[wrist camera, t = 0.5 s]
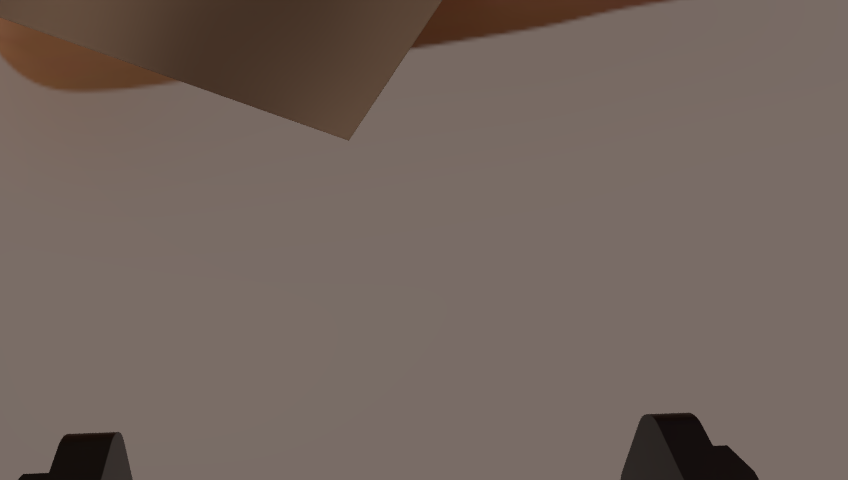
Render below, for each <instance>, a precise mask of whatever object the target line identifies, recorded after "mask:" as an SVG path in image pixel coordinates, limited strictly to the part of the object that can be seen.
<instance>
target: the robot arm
mask: <svg viewBox="0 0 848 480" xmlns="http://www.w3.org/2000/svg"><path fill="white" fill-rule="evenodd" d="M19 480H132V475H131V471H130V466H129V462H128V458H127V453H126V449H125V444H124V440H123V437H122V435H121V433H119V432H111V433H84V434H67V435H65V436H64V437H63V438H62V440H61V442H60V443H59V446H58V449H57V451H56V455H55V457H54V460H53V463H52V466H51V469H50V472H49V473H39V474H23V475H22V476H21V477H20V478H19ZM621 480H759V479H758V477H757V475H756V474H755V472H754V471H753V470H752V469H751V468H750V467H749V466H748V465H747V464H746V463H745V462H744V461H743V460H742V459H741V458H739V456H738V455H737V454H736V453H734V452H733V451H732V450H731V449H730V448H729V447H728V446H727V445H725V446H713V445H712V444H711V442H710V440H709V438H708V436H707V434H706V432H705V430H704V428H703V426H702V425H701V423H700V421H699V420H698V418H697V417H696V416H695V415H693V414H691V413H671V414H646V415H644V416H643V417H642V418H641V420H640V422H639V425H638V428H637V430H636V433H635V436H634V439H633V442H632V445H631V448H630V451H629V454H628V457H627V459H626V462H625V465H624V468H623V471H622V475H621Z"/></svg>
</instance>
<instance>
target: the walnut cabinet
mask: <svg viewBox="0 0 848 480" xmlns="http://www.w3.org/2000/svg"><path fill="white" fill-rule="evenodd" d="M441 1H442V0H0V17H1V18H3V19H6V20H9V21H12V22H15V23H18V24H20V25H23V26H26V27H29V28H32V29H35V30H37V31H40V32H43V33H46V34H49V35H51V36H54V37H57V38H60V39H63V40H66V41H68V42H71V43H74V44H77V45H80V46H83V47H85V48H88V49H91V50H94V51H97V52H100V53H102V54H105V55H108V56H111V57H114V58H117V59H119V60H122V61H125V62H128V63H131V64H134V65H136V66H139V67H142V68H145V69H148V70H151V71H153V72H156V73H159V74H162V75H165V76H167V77H170V78H173V79H176V80H179V81H182V82H184V83H187V84H190V85H193V86H196V87H199V88H201V89H204V90H207V91H210V92H213V93H216V94H219V95H221V96H224V97H227V98H230V99H233V100H235V101H238V102H241V103H244V104H247V105H250V106H252V107H255V108H258V109H261V110H264V111H267V112H269V113H272V114H275V115H278V116H281V117H283V118H286V119H289V120H292V121H295V122H298V123H300V124H303V125H306V126H309V127H312V128H315V129H317V130H320V131H323V132H326V133H329V134H332V135H334V136H337V137H340V138H343V139H346V140H349V139H350V138H351V136H352V135H353V133H354V132H355V130H356V129H357V127H358V126H359V124H360V123H361V121H362V120H363V118H364V117H365V115H366V114H367V112H368V111H369V109H370V108H371V106H372V105H373V103H374V102H375V100H376V99H377V97H378V96H379V94H380V93H381V91H382V90H383V88H384V87H385V85H386V84H387V82H388V81H389V79H390V78H391V76H392V75H393V73H394V72H395V70H396V69H397V67H398V66H399V64H400V63H401V61H402V60H403V58H404V57H405V55H406V54H407V52H408V51H409V49H410V48H411V46H412V45H413V43H414V42H415V40H416V39H417V37H418V36H419V34H420V33H421V31H422V30H423V28H424V27H425V25H426V24H427V22H428V21H429V19H430V18H431V16H432V15H433V13H434V12H435V10H436V9H437V7H438V6H439V4H440V3H441Z"/></svg>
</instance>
